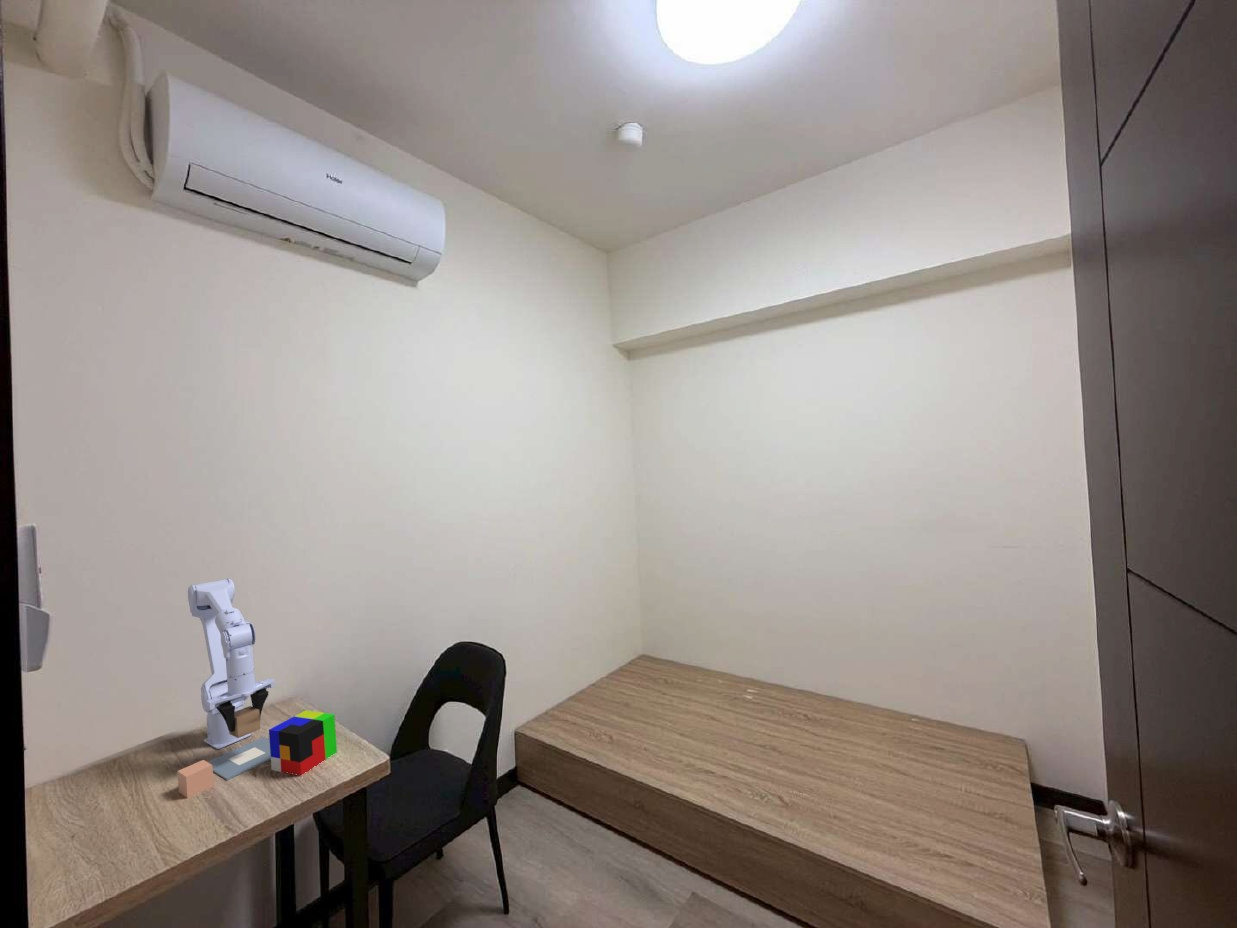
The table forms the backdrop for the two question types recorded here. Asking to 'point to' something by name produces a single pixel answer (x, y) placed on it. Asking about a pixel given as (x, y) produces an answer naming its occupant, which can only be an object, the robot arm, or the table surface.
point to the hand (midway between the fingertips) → (244, 725)
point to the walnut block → (246, 721)
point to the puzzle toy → (302, 742)
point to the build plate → (242, 759)
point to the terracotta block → (195, 778)
